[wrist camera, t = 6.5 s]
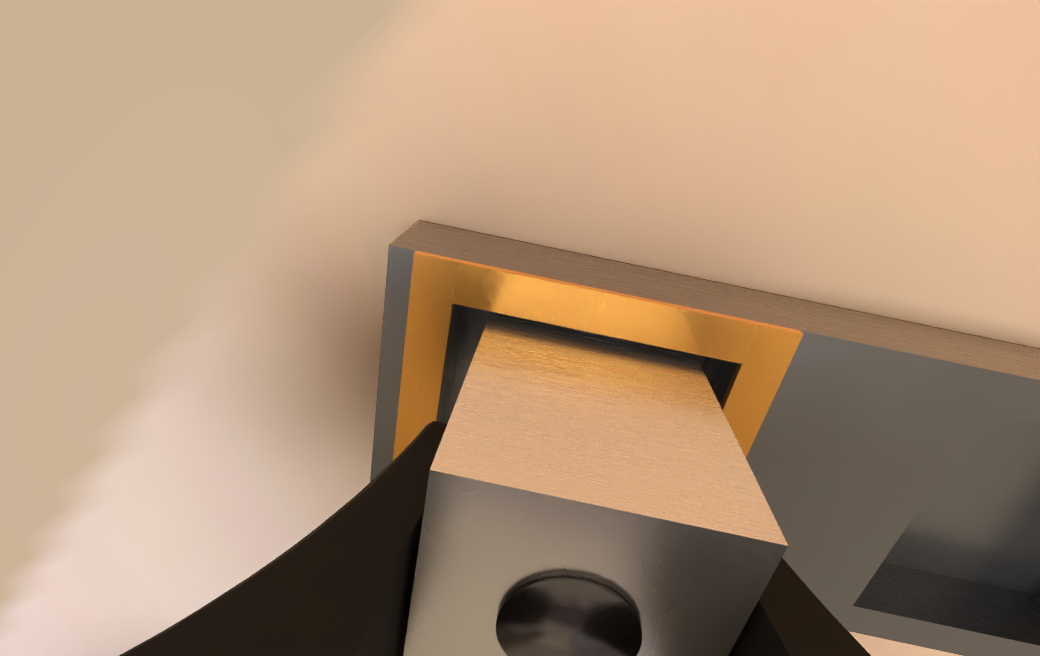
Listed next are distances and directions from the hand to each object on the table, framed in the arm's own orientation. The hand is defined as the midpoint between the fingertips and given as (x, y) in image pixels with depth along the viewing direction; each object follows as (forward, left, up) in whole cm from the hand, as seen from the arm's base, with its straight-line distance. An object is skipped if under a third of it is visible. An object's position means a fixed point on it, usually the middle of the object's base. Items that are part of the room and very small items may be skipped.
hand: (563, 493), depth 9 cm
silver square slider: (+1, 0, -3) cm, 3 cm away
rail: (0, -5, -3) cm, 6 cm away
